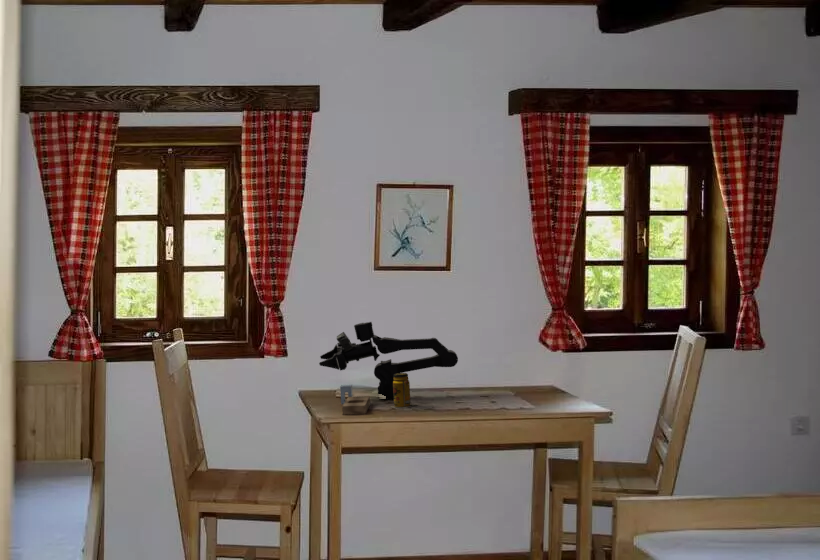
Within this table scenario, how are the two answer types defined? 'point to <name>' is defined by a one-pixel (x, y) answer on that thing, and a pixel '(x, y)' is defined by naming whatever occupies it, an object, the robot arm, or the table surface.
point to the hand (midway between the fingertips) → (320, 360)
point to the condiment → (401, 391)
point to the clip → (345, 389)
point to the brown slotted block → (356, 405)
